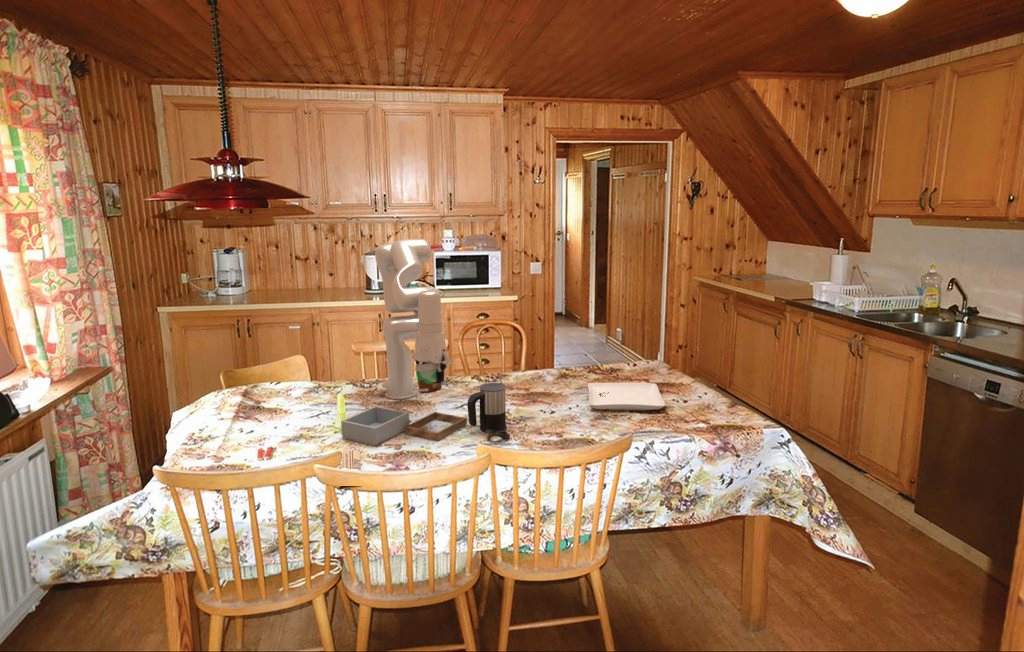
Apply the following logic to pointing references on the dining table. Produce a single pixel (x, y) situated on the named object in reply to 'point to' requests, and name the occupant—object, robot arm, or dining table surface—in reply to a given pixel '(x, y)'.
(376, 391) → the dining table surface
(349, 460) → the newspaper
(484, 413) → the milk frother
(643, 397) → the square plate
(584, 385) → the dining table surface
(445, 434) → the walnut frame
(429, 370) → the food container
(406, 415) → the grey bin
